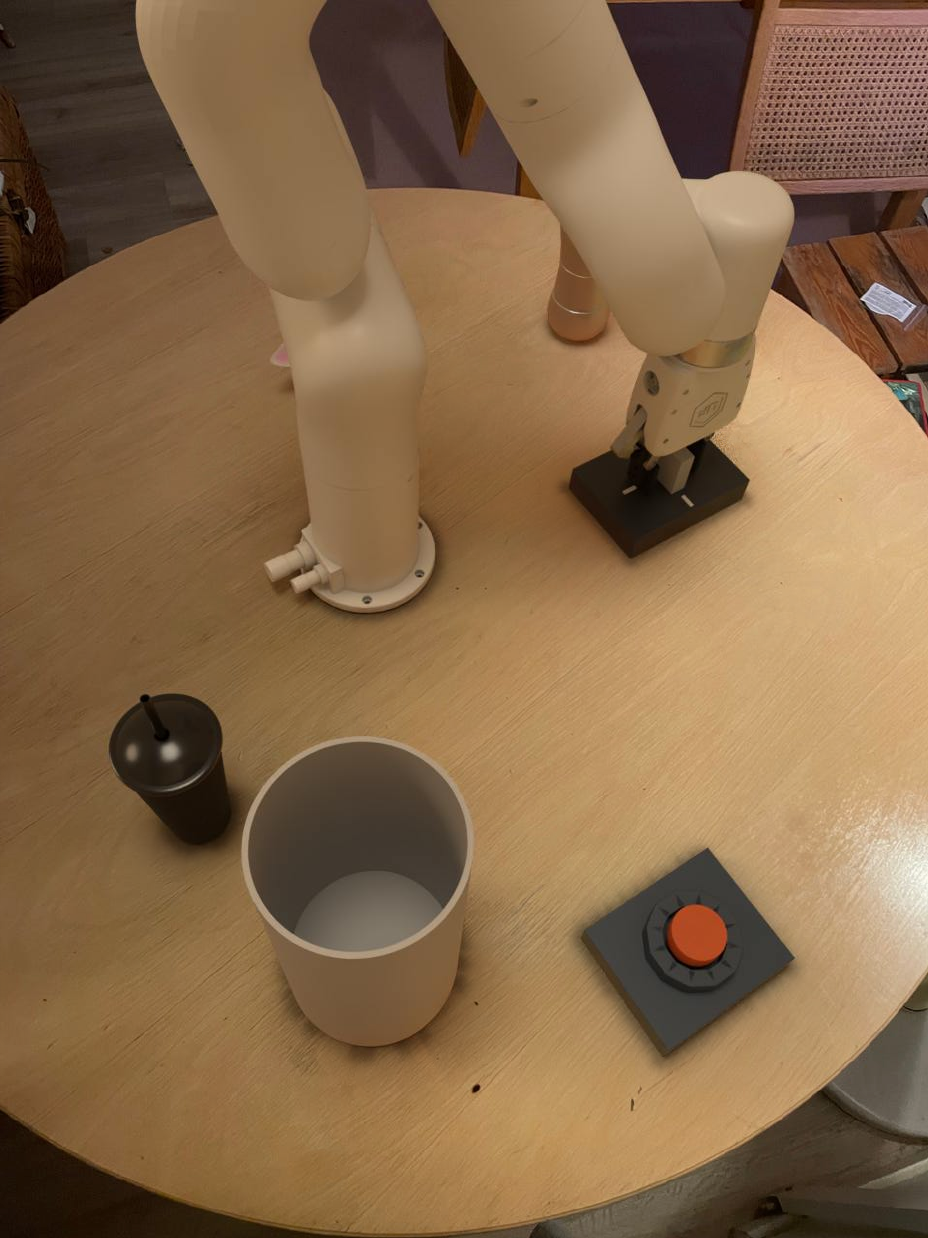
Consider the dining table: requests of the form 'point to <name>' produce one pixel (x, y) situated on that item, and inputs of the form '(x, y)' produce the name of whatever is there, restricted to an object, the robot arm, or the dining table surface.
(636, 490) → the panel
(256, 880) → the cylinder vase
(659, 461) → the temp dial
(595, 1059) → the dining table surface
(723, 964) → the switch block
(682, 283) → the robot arm
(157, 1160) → the dining table surface
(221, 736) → the drinking cup
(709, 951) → the button
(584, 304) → the plastic bottle
